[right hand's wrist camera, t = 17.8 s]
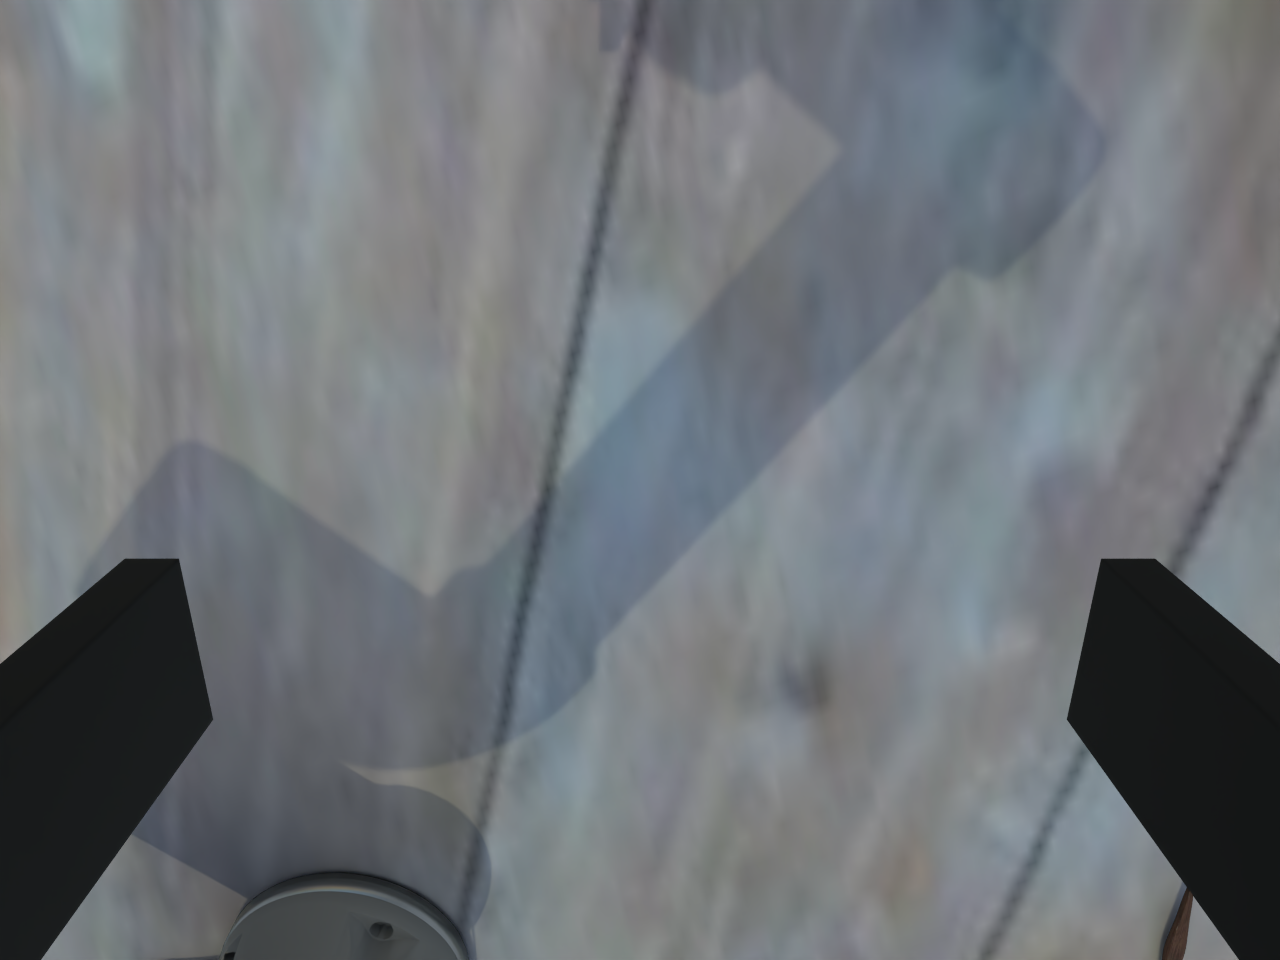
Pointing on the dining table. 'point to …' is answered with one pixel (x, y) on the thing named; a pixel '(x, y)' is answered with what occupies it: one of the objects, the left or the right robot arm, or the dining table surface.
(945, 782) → the dining table surface
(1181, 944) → the fork
